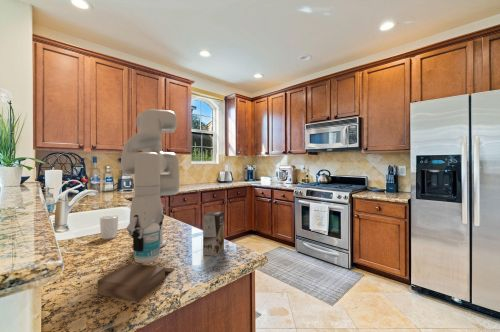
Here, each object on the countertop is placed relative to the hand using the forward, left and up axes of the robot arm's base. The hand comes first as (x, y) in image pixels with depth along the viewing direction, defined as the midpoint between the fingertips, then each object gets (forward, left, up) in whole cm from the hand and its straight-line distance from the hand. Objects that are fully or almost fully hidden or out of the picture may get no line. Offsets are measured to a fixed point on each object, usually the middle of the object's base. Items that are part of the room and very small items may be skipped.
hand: (147, 246), depth 76 cm
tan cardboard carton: (0, -2, -11) cm, 11 cm away
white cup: (-46, +32, -10) cm, 57 cm away
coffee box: (+12, +27, -10) cm, 31 cm away
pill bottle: (0, 0, -4) cm, 4 cm away
